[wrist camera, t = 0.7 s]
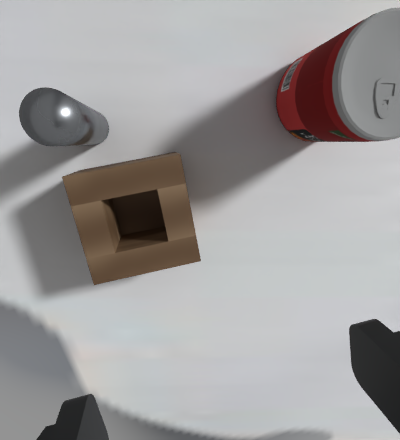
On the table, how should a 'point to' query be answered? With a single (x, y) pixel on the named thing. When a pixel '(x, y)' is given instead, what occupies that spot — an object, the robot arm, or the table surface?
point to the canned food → (346, 85)
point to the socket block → (133, 217)
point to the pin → (61, 119)
